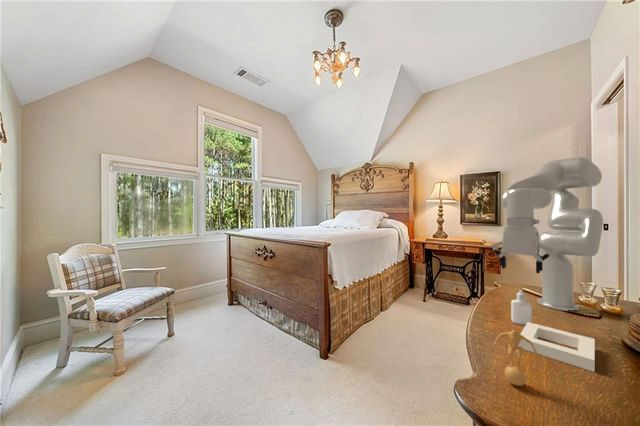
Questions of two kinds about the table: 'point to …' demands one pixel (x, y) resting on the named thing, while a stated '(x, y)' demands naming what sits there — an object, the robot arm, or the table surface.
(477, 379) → the table surface
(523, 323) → the eye dropper bottle
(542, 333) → the cream square frame
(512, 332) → the figurine
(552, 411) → the table surface
